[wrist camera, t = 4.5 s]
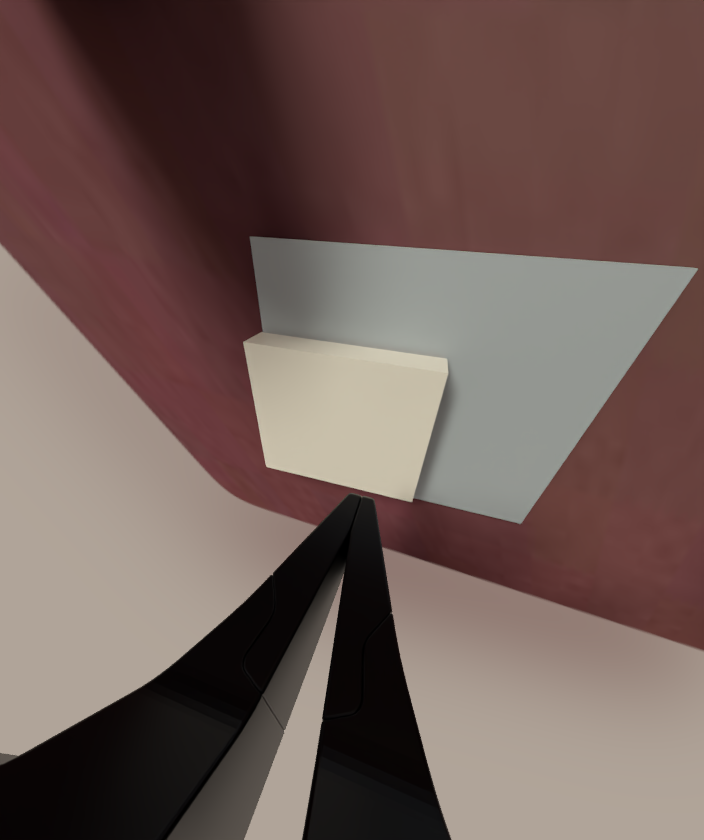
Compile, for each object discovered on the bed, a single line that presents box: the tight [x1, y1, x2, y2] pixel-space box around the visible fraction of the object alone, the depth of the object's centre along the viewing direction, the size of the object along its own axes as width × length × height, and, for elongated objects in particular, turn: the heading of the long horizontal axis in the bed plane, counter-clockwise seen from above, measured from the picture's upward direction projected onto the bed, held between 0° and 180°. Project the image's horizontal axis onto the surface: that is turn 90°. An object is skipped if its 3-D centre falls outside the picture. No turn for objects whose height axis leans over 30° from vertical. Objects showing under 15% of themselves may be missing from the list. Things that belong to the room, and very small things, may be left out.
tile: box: [243, 332, 448, 502], centre depth 13 cm, size 2×7×8 cm
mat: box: [250, 236, 698, 524], centre depth 12 cm, size 14×12×1 cm
